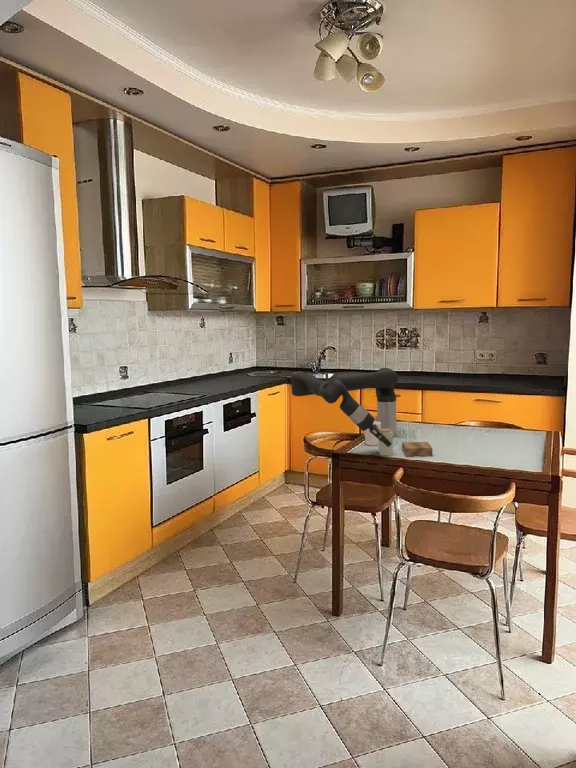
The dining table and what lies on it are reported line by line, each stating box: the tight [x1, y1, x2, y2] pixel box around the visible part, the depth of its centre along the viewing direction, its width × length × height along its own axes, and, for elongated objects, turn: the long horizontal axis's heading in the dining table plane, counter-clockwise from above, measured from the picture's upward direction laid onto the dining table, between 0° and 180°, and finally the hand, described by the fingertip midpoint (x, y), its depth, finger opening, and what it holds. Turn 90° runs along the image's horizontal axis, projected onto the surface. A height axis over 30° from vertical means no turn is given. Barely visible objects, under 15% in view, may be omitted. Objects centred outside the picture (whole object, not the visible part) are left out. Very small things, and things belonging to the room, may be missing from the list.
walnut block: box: [401, 441, 433, 458], centre depth 245 cm, size 11×11×4 cm
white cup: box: [363, 420, 381, 446], centre depth 264 cm, size 8×8×10 cm
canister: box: [377, 429, 394, 456], centre depth 245 cm, size 5×5×11 cm
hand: (388, 442), depth 245 cm, fingers open, 8 cm apart
